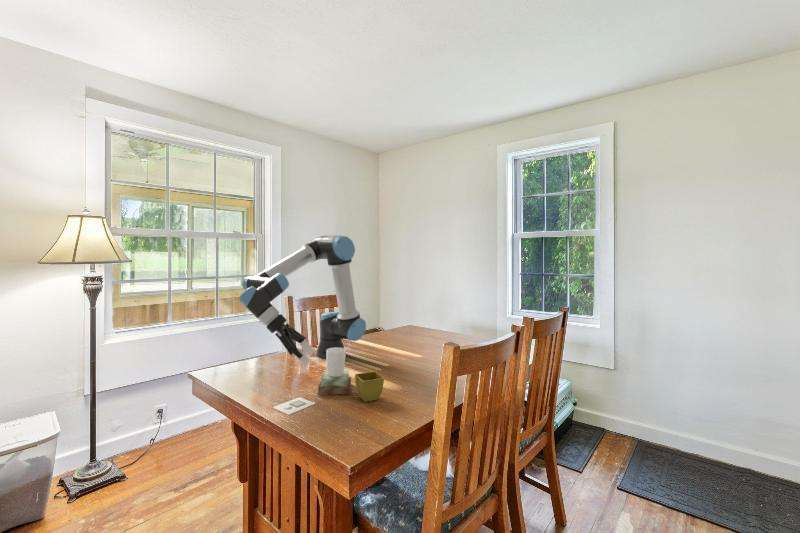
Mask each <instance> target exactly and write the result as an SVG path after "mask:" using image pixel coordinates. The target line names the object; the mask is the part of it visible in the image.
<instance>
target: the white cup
mask: <svg viewBox="0 0 800 533" xmlns="http://www.w3.org/2000/svg"><path fill="white" fill-rule="evenodd" d="M346 354H347V350H346V348H345V347H344V348H338V347H335V348H329V349H327V350H326V358H325V359H326V361H325V363H326V370H327V375H328V376H331V377H339V376H342V375H344V371H345V367H346Z"/></svg>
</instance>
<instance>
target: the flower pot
mask: <svg viewBox="0 0 800 533" xmlns="http://www.w3.org/2000/svg"><path fill="white" fill-rule="evenodd" d="M354 378H355V379H354V380H355V387H356V391H357V394H358V396H359V397H360V399H362V401H364V403H368V402H367V401H369V402H374V401H377V400H378V399H380V397H381V395H382V393H383V390H384V389H383V388H384V382H385V377H384V376H383V375H381V374H380V373H378V372H377V371H373V370H372V371H368V372H362V373H354ZM373 400H374V401H373Z"/></svg>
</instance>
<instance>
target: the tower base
mask: <svg viewBox="0 0 800 533" xmlns="http://www.w3.org/2000/svg"><path fill="white" fill-rule="evenodd" d="M349 375H350V370H344V375H342V376H339V377H331V376H328V375H327V369H326V370H325V369H324V370H323V374H322V377H321V379H320V381H319V384H318V387H317V388H318V391H317V394H318V396H326V395H327V396H335V395H334V394H349V393H350V394H351V387H350V386H352V376H349ZM328 394H329V395H328ZM331 394H332V395H331ZM350 394H349V395H350Z"/></svg>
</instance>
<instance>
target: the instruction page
mask: <svg viewBox="0 0 800 533" xmlns="http://www.w3.org/2000/svg"><path fill="white" fill-rule="evenodd" d="M315 405H316V402H314V401H310V400H308V399H305V398H302V397H301V396H299V397H296V398H293V399H291V400H288V401H285V402H282V403H280V404H278V405H275V406H273V407H271V409H274V410H276V411H278V412H280V413H283V414H285V415H287V416H291V415H292V414H295V413H298V412H299V411H302V410H304V409H306V408H310V407H312V406H315Z"/></svg>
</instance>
